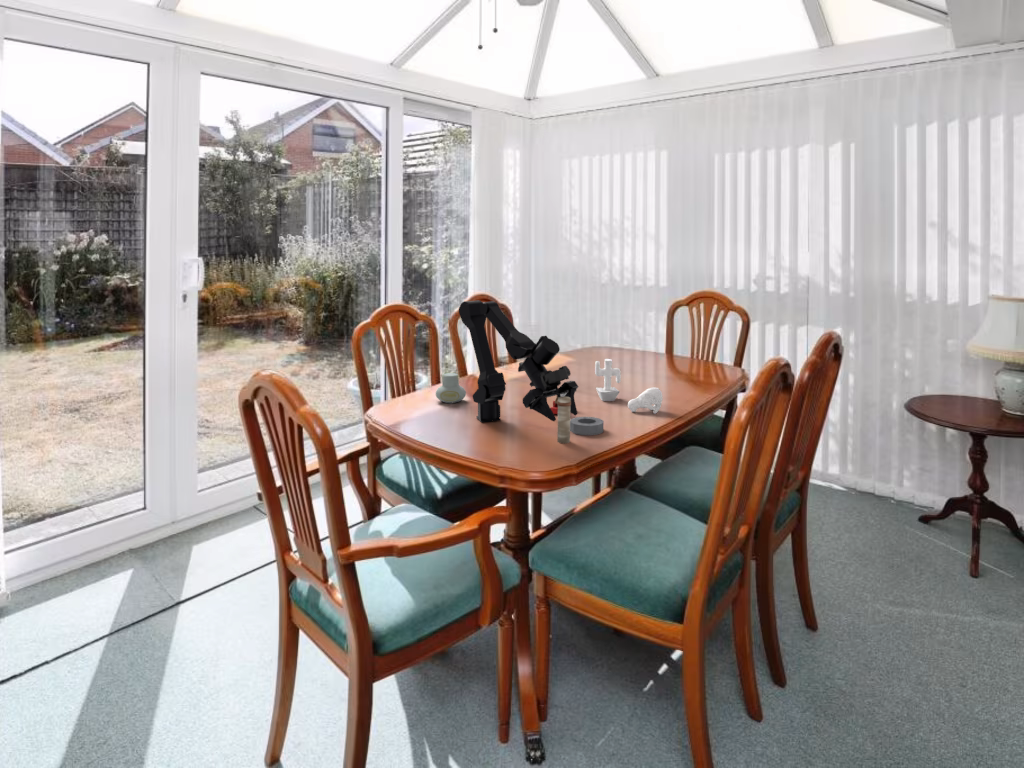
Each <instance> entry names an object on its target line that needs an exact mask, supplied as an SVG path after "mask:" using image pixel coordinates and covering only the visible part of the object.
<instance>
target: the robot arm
mask: <svg viewBox="0 0 1024 768" xmlns="http://www.w3.org/2000/svg"><path fill="white" fill-rule="evenodd" d="M458 313H459V316H460V319H461V321H462V324H463V325H464V326H465V327H466V328H467V329H468V330H469V335H470V337H471V341H472V346H473V350H474V354H475V359H476V362H477V366H478V370H479V375H478V379H477V389H476V390H475V392H474V393H473V394H472V399H473V403H477V415H476V419H477V420H479V421H480V423H486V422H487V423H488V422H500V421H501V405H500V404H499V401H503V399H504V394H505V392H506V389H507V388H506V385H507V383H506V382H505V381H506V380H505V377H504V374H503V372H498V370H496V368H495V363H494V360H493V355H492V351H491V348H490V344H489V340H488V337H487V332H486V328H485V324H486V321H487V320H488V321H489V322H490V324H491V325H492V326H493V328H494V329H495V331H497V333H499V335H500V336H501V337H502V339H503V340H504V342H505V349H506V350H507V353H508V354H509V356H510V358H512V359H513V360H522V359H524V360H523V361H521V362H519V364H518V365H519V366H518V368H517V371H518V373H520V372H525V374H526V376H527V377H528V379H529V380H530V383H529V386H530V387H531V388H532V387H534V388H532V389H529V391H527V393H526V394H525V395H524V396H523V397H522V404H523V406H524V408H525V409H528V408H529V410H533V411H535V412H537V413H538V414H540V415H542V416H544V417H546V418H547V419H549V420H550V421H551V422H555V421H556V420H557V417H556V415H555V414H553V412H552V410H551V406H550V405H549V403H548V398H551V397H554V396H556V397H557V396H558V397H570V398H571V406H570V414H573V416H577V415H578V409H577V405H576V401H575V393H576V392H577V389H578V388H579V385H578V383H577V382H576V381H575V380H569V379H570V377H569V376H571V370H570V369H569V367H568V366H567V365H563V366H561V367H559V368H558V369H555V370H552V369H551V370H550V369H549V370H548V369H547V368H546V367H545V366H548V365H549V364H550V363H551V362H552V360H553V359H554V358H555V356H557V355H558V353H559V352H560V351H561V349H560V348H561V347H560V346H559V344H558V343H557V342H556V341H554V340H553V339H551V338H549V337H548V336H547V335H541V336H540V337H539V339H538V341H537V342H536V343H535V342H534V341H533V339H531V338H530V337H529V336H528V335H527V334H524V333H523V332H520V331H519V330H518V329H517V328H516V327H515V325H514V324H513V323H512V322H511V320H509V318H508V317H507V315H506V314H505V313H504V312H503V310H501V308H500V307H499V303H497V302H495V301H484V302H483V301H481V300H478V299H477V300H468V301H467V300H466V301H462V302H461V303H460V306H459V308H458ZM564 380H569V381H564ZM563 381H564V382H563ZM562 382H563V383H562ZM561 384H562V385H561Z"/></svg>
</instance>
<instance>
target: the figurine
mask: <svg viewBox="0 0 1024 768" xmlns="http://www.w3.org/2000/svg"><path fill="white" fill-rule="evenodd" d="M603 362H604V367H603V368H601V362H600V360H596V361H595V363H594V373H595V376H597V377H603V379H604V381H603V383H604V384H603V387H595V389H596V390H595V391H596V392H597V394H598V397H599V399H600V400H601V401H602V402H615V400H616V398H617V397H618V395H619V394H620V390H618V389H617V388H616V387H614V386H613V387H612V377H614V376H615V382H616V383H618V384H619V383H621V382H622V381H621V379H622V377H621V374H622V372H621V369H620V368H619V367H614V368H613V367H612V366H613V359H611V358H604V361H603Z"/></svg>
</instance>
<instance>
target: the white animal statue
mask: <svg viewBox="0 0 1024 768" xmlns="http://www.w3.org/2000/svg"><path fill="white" fill-rule="evenodd" d="M662 402H663V393H662V390H660V388H659V387H655V386H654V387H649V388H646V389H645V390H644V391H642V393H640V394H639V395H638V396H637V397H636V398H631V399H630V400H629V401H628V402H627V407H628V409H629V410H630V411H631V413H636V412H637V411H638V410H639V409H648V410H650V411H652V412H653V414H657V413H658V412H659V411H660V410H661V406H662Z"/></svg>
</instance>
